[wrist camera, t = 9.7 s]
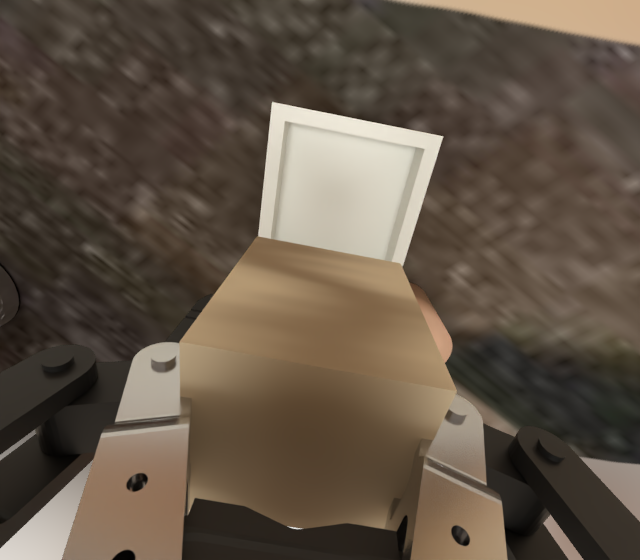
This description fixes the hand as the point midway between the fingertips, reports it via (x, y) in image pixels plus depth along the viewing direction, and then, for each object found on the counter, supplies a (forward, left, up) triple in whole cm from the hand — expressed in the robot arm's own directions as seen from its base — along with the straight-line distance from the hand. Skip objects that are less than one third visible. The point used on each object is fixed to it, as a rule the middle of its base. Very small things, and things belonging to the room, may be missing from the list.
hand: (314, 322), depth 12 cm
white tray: (+1, +1, -18) cm, 18 cm away
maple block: (0, 0, -1) cm, 1 cm away
